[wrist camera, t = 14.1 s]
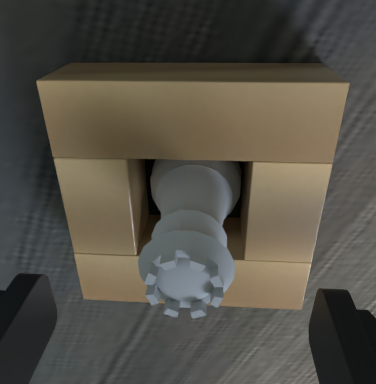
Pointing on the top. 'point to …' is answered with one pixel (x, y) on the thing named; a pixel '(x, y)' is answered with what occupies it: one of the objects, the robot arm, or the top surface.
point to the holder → (195, 150)
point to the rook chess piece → (190, 234)
